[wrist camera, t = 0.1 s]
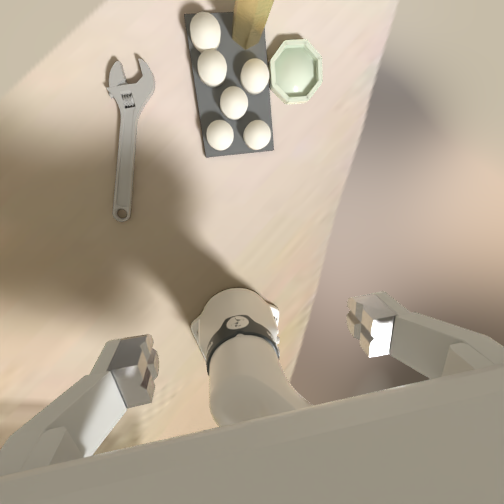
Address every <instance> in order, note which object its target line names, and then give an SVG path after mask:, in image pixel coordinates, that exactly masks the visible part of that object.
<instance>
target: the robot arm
mask: <svg viewBox="0 0 504 504" xmlns="http://www.w3.org/2000/svg"><path fill="white" fill-rule="evenodd" d="M347 307H348V308H349V309H350V311H349V313H348V314H347V326H348V329H349V331H350V333H351V334H352V336H353V337H354V338H356V339H358V340H360V346H361V348H363V350H364V351H365V353H366V354H367V355H368V356H369V357H372V356H379V355H384V354H390V355H391V356H393V357H394V358H396V359H398V360H399V361H401V362H403V363H405V364H406V365H408V366H410V367H411V368H413V369H415V370H416V371H418V372H420V373H422V374H423V375H425V376H427V377H428V378H430V380H426V381H421V382H417V383H413V384H408V385H403V386H399V387H395V388H390V389H386V390H381V391H377V392H372V393H368V394H363V395H359V396H354V397H350V398H346V399H341V400H337V401H332V402H328V403H323V404H319V405H314V406H313V405H312V404H311V403H309V402H308V401H307V400H305V399H304V398H303V397H302V396H301V395H300V394H299V393H298V392H297V391H296V390H295V389H294V388H293V387H292V385H291V384H290V382H289V381H288V379H287V377H286V375H285V373H284V371H283V368H282V366H281V364H280V362H279V356H280V352H279V348H278V347H277V344H279V337H278V336H277V334H278V333H279V331H278V321H279V310H278V308H277V307H276V306H274V305H271V304H269V303H267V302H266V301H264V299H263V298H262V297H261V296H260V295H258V294H257V293H255V292H253V291H251V290H249V289H244V288H231V289H227V290H224V291H221V292H219V293H218V294H216V295H215V296H213V297H212V298H211V299H210V300H209V301H208V302H207V304H206V305H205V307H204V309H203V311H202V313H201V314H200V316H198V317H197V318H196V319H195V320H194V321H193V322H192V323H191V330H192V332H193V335H194V337H195V339H196V341H197V343H198V345H199V348H200V350H201V352H202V354H203V356H204V358H205V360H206V365H207V372H208V375H209V407H210V411H211V414H212V417H213V419H214V421H215V422H216V424H217V425H218V426H219V427H217V428H212V429H208V430H204V431H199V432H195V433H190V434H186V435H181V436H177V437H173V438H168V439H164V440H159V441H155V442H150V443H146V444H141V445H137V446H132V447H128V448H124V449H119V450H115V451H110V452H106V453H101V454H97V455H93V453H94V452H95V451H96V449H97V448H98V447H99V446H100V444H101V443H102V442H103V440H104V439H105V438H106V436H107V435H108V434H109V433H110V431H111V430H112V429H113V427H114V426H115V425H116V424H117V422H118V421H119V420H120V418H121V417H122V416H123V414H124V413H125V412H126V411H127V408H131V407H135V406H139V405H144V404H148V403H152V398H153V394H154V390H155V384H154V380H155V378H156V377H157V376H158V372H159V358H158V354H157V351H156V350H154V349H153V348H152V347H153V343H154V341H153V339H152V336H151V335H150V334H146V335H140V336H133V337H127V338H123V339H116V340H110V341H108V342H107V343H106V344H105V346H104V348H103V350H102V352H101V354H100V356H99V357H98V359H97V361H96V363H95V365H94V367H93V369H92V371H91V373H90V374H89V375H86V376H84V377H83V378H81V379H80V380H79V381H78V382H76V383H75V384H74V385H73V386H71V387H70V388H69V389H68V390H67V391H65V392H64V393H63V394H62V395H60V396H59V397H58V398H57V399H55V400H54V401H53V402H52V403H50V404H49V405H48V406H47V407H45V408H44V409H43V410H42V411H40V412H39V413H38V414H37V415H36V416H34V417H33V418H32V419H31V420H29V421H28V422H27V423H26V424H24V425H23V426H22V427H21V428H19V429H18V430H17V431H16V432H14V433H13V434H12V435H11V436H10V437H9V438H8V440H7V441H6V442H5V444H4V445H3V447H2V448H1V450H0V504H504V347H503V346H502V345H500V344H499V343H497V342H496V341H494V340H493V339H491V338H490V337H489V336H486V335H483V334H480V333H477V332H474V331H471V330H468V329H465V328H462V327H458V326H456V325H453V324H450V323H447V322H443V321H440V320H437V319H434V318H431V317H428V316H425V315H422V314H419V313H416V312H413V313H411V312H410V311H409V310H407V309H406V308H405V307H404V306H402V305H401V304H400V303H398V302H397V301H396V300H395V299H394V298H392V297H391V296H390V295H389V294H387V293H386V292H384V291H381V292H377V293H372V294H369V295H363V296H358V297H352V298H349V299H348V302H347Z"/></svg>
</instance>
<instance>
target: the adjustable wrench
mask: <svg viewBox="0 0 504 504" xmlns="http://www.w3.org/2000/svg"><path fill="white" fill-rule="evenodd" d="M138 60H139V63H140V67H141V71H142V74H143V77H142V78H141V79H140V80H139V81H138V82H137V83H134V84H128V83H126V82H127V80H126V77H125V73H124V70H123V67H122V64H121V63H120V62H119V61H116V62H115V63H114V64H113V66H112V68H111V71H110V74H109V87H107V90H108V91H109V95H110V97H111V98H115V100H116V102H117V104H118V106H119V108H120V113H121V125H120V136H119V147H118V158H117V170H116V181H115V192H114V203H113V217H114V218H115V219H116V220H117V221H120V222H124V221H126V220H128V219H129V218H130V215H131V202H132V189H133V175H134V162H135V148H136V135H137V123H138V119H139V116H140V114H141V112H142V110H143V108H144V106H145V105H146V103H147V102H148V100H149V99H150V97H151V96H152V95H153V93H154V90H155V79H154V76H153V73H152V71H151V70H150V68H149V66H148V65H147V63H146V62H144V61H143V60H142V59H139V58H138ZM125 96H126V97H125ZM127 96H128V97H127ZM126 106H127V107H128V108H127V107H126ZM129 106H130V107H132V106H133V107H132V108H129ZM119 209H124V210H125V211H126V212H127V216H126V218H120V217H118V215H117V211H118V210H119Z"/></svg>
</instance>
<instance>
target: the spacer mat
mask: <svg viewBox="0 0 504 504" xmlns="http://www.w3.org/2000/svg"><path fill="white" fill-rule="evenodd" d="M233 13H234V12H227V13H208V12H199V13H197V14H184V17H185V23H186V30H187V36H188V43H189V49H190V56H191V62H192V69H193V75H194V82H195V88H196V95H197V101H198V108H199V114H200V121H201V127H202V134H203V140H204V147H205V153H206V157H216V156H225V155H235V154H244V153H254V152H263V151H273V150H274V145H273V132H272V119H271V106H270V93H269V70H268V67H267V54H266V41H265V28H264V29H263V32H262V35H261V38H260V41H259V43H257V44H256V45H254V46H252V47H250V48H248V49H246V50H245V49H243V48H242V47H241V46H240V45H239V44H237V43H236V42H235V41H234V40H233V39H232V22H233Z"/></svg>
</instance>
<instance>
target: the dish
mask: <svg viewBox="0 0 504 504" xmlns="http://www.w3.org/2000/svg"><path fill="white" fill-rule="evenodd" d="M321 57H322V56H321V55H320V54H319V53H318V52H317V51H316V49H315V48H314V47H313V46H312V45H311V44H310V43H309V41H308V40H306V39H297V40H285V41H284V42H283V43H282V44H281V46H280V47H279V49H278V50H277V51H276V53H275V54H274V55H273V57H272V58H271V60H270V62H269V64H268V69H269V82H270V88H271V91H272V92H273V93H274V94H275V95H276V96H277V97H278V98H279V99H280V100H281V101H282V102H283V103H284V104H286V105H288V104H300V103H306V102H307V101H309V100H310V98H311V97H312V96H313V94H314V93H315V92H316V90H317V89H318V88H319V86H320V85H321V84H322V82H323V79H322V58H321Z"/></svg>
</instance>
